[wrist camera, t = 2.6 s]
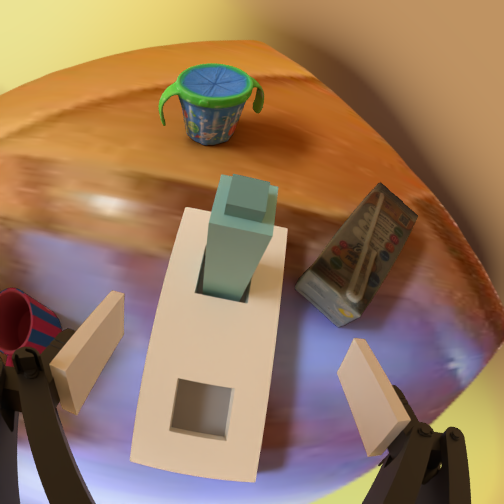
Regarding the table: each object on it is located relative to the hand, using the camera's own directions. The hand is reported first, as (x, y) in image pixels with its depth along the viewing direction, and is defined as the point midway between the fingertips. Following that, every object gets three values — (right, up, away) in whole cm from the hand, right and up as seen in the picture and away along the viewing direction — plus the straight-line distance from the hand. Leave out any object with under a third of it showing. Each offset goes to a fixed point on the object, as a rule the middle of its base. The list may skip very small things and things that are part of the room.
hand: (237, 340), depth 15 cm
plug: (-2, +1, +17) cm, 17 cm away
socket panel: (-3, -5, +14) cm, 15 cm away
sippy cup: (-6, +24, +28) cm, 37 cm away
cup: (-24, -6, +9) cm, 26 cm away
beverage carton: (+14, +4, +22) cm, 27 cm away
